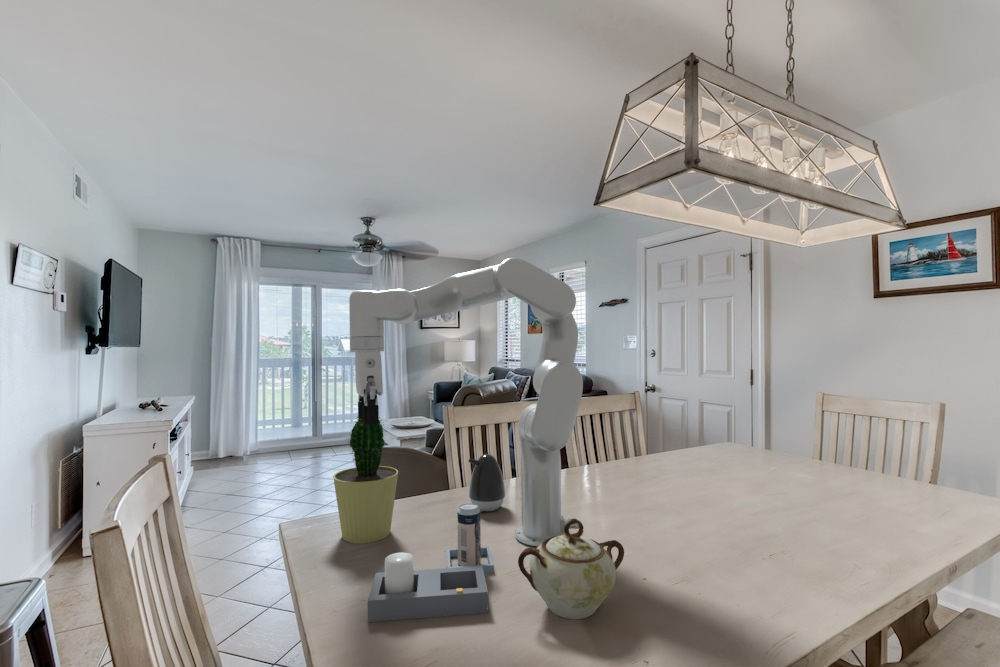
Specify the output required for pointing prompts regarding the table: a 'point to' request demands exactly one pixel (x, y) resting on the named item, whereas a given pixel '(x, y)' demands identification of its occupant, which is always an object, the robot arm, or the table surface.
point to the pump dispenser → (486, 484)
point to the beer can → (469, 535)
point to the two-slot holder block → (425, 591)
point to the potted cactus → (366, 488)
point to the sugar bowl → (572, 572)
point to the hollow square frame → (486, 567)
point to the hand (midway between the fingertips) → (368, 421)
